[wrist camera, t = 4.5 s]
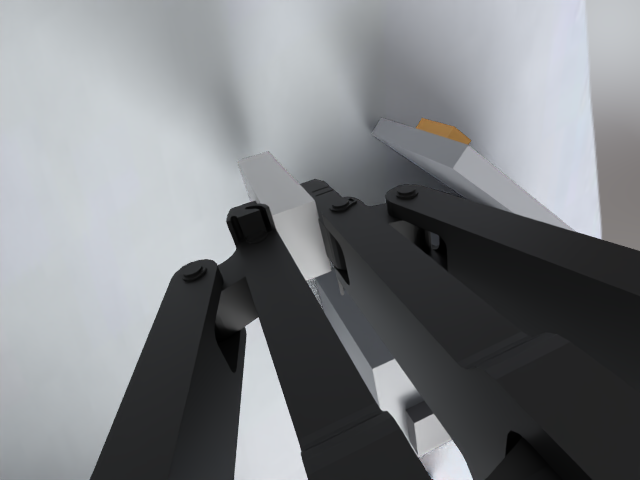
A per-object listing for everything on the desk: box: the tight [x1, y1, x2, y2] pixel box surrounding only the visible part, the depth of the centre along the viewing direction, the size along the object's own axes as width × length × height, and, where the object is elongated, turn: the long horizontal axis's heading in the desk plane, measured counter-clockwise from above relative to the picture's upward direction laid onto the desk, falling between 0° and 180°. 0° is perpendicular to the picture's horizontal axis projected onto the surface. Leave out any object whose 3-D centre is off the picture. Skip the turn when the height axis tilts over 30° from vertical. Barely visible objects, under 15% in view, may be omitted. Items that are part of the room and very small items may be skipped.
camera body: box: [315, 232, 452, 458], centre depth 23 cm, size 14×9×9 cm, turn 102°
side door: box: [371, 117, 576, 232], centre depth 19 cm, size 11×2×8 cm, turn 57°
